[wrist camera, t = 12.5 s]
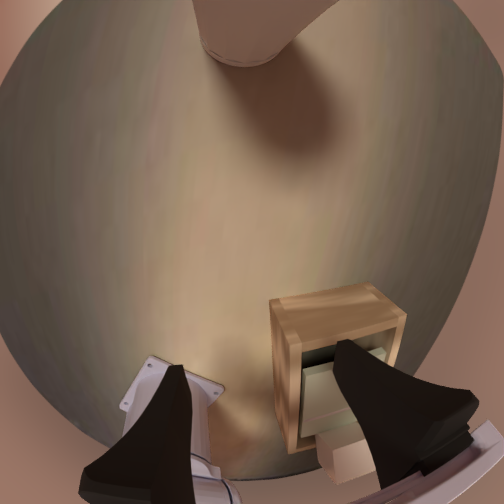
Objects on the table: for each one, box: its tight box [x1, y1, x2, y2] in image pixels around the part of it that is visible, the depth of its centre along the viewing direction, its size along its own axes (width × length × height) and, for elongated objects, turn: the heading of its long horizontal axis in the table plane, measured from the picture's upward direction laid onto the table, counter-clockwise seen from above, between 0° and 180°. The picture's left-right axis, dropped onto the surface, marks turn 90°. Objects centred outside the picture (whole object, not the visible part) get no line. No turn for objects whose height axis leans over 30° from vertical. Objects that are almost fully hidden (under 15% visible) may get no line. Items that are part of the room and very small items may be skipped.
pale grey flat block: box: [299, 347, 386, 438], centre depth 21 cm, size 9×7×4 cm
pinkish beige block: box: [315, 422, 376, 485], centre depth 19 cm, size 4×4×6 cm
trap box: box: [269, 282, 407, 454], centre depth 22 cm, size 15×9×6 cm, turn 5°
